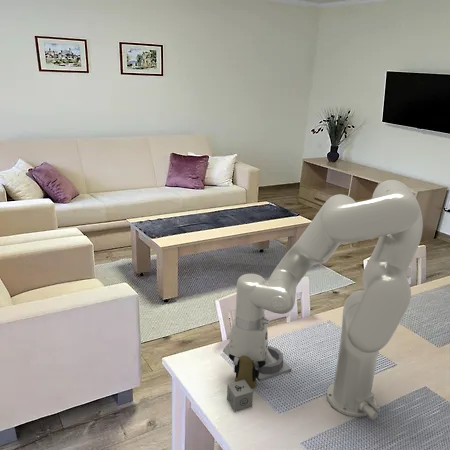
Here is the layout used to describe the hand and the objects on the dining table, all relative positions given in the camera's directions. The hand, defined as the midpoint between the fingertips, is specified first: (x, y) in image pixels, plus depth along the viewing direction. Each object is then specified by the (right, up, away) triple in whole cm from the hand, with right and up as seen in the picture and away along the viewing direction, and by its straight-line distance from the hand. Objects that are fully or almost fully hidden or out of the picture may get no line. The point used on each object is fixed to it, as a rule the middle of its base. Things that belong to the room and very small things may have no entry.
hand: (246, 376), depth 119 cm
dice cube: (-2, -5, -7) cm, 9 cm away
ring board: (+6, 0, +8) cm, 10 cm away
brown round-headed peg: (0, -2, +1) cm, 2 cm away
